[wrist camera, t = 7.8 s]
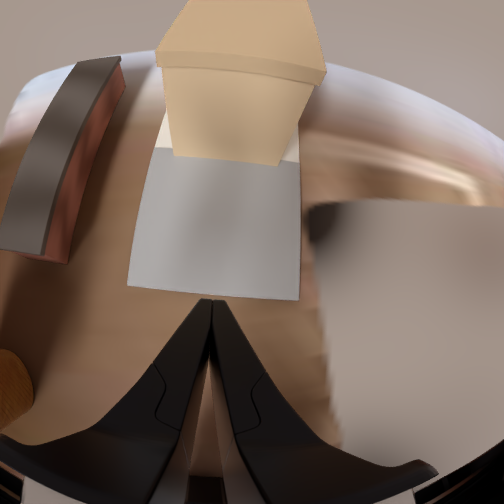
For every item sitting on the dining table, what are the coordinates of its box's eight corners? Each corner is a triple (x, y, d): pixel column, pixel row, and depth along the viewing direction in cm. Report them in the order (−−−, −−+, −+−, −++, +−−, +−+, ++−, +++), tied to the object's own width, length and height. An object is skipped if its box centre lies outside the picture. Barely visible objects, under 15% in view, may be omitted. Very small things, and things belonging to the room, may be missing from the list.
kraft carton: (279, 168, 23) (326, 72, 12) (171, 157, 22) (155, 51, 11) (279, 71, 26) (305, -6, 16) (199, 61, 25) (204, -19, 14)
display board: (296, 300, 21) (298, 300, 20) (128, 285, 19) (127, 284, 19) (294, 83, 27) (295, 80, 26) (182, 70, 25) (182, 67, 24)
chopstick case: (68, 267, 18) (39, 254, 14) (25, 260, 18) (-5, 247, 13) (127, 85, 23) (120, 55, 19) (88, 89, 23) (77, 62, 18)
